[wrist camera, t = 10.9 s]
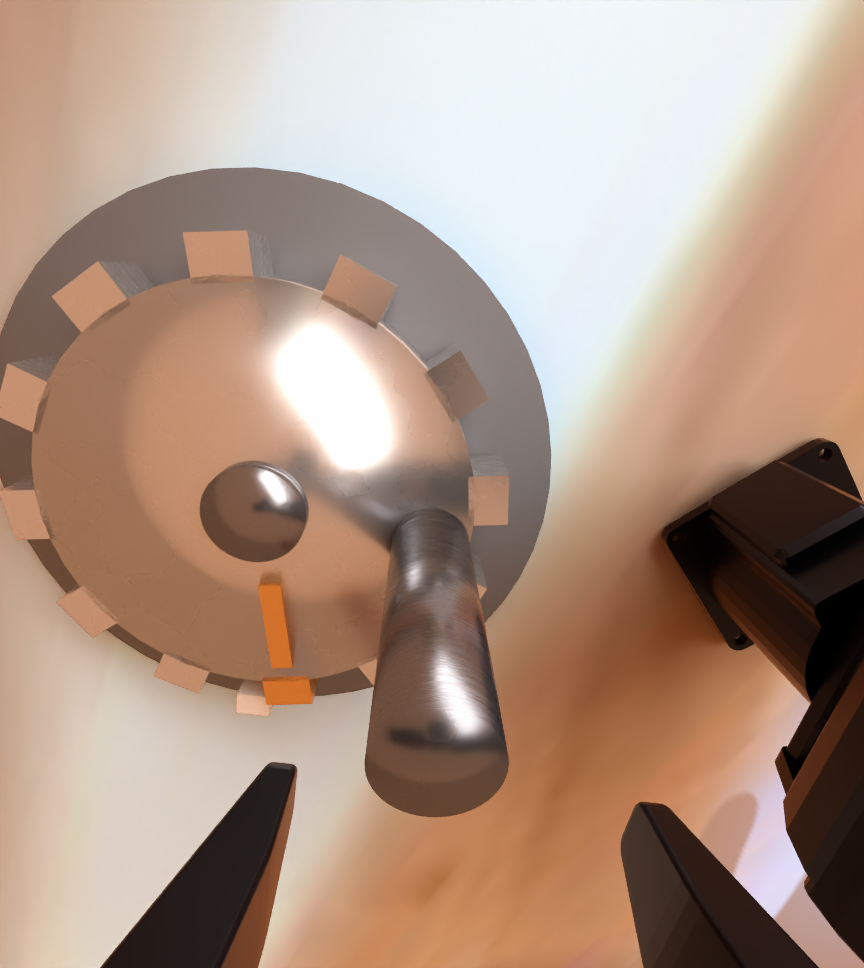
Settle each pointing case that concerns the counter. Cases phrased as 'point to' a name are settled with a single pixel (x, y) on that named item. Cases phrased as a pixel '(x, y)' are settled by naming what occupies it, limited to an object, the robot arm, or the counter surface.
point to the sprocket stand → (311, 258)
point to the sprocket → (274, 498)
